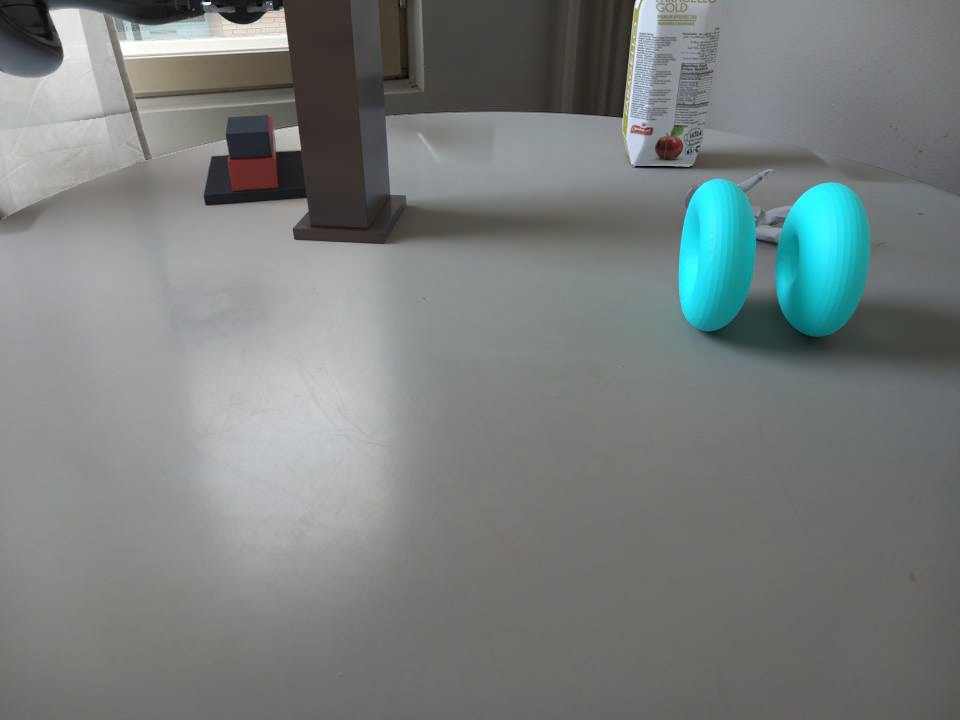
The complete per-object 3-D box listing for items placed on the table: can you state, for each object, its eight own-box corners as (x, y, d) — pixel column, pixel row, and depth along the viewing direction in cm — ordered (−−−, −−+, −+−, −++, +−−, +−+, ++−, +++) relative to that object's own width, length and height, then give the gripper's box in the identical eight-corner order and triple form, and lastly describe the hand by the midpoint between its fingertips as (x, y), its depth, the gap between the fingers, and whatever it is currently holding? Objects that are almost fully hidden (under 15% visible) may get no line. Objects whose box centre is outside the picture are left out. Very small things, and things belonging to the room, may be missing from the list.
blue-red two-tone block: (237, 144, 88) (229, 96, 85) (275, 142, 89) (268, 94, 86) (232, 191, 73) (222, 135, 70) (278, 188, 74) (270, 132, 71)
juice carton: (702, 170, 83) (732, -21, 73) (624, 169, 83) (644, -22, 73) (688, 151, 89) (715, -26, 79) (616, 150, 89) (634, -27, 80)
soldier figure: (805, 278, 60) (672, 213, 63) (788, 294, 65) (665, 233, 67) (849, 198, 61) (716, 137, 63) (829, 220, 66) (705, 162, 68)
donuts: (849, 366, 47) (895, 214, 42) (688, 357, 48) (713, 208, 43) (806, 296, 55) (840, 164, 50) (670, 290, 56) (689, 159, 51)
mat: (213, 164, 84) (211, 156, 84) (302, 158, 86) (301, 150, 86) (205, 205, 72) (203, 195, 72) (309, 197, 75) (308, 187, 74)
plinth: (327, 201, 73) (285, -185, 57) (406, 205, 73) (386, -186, 57) (293, 239, 65) (233, -203, 49) (383, 243, 64) (352, -204, 48)
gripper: (176, -43, 93) (162, -36, 80) (291, -44, 96) (297, -38, 83) (188, 22, 97) (176, 39, 84) (299, 19, 100) (305, 35, 87)
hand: (236, 1), depth 83 cm, fingers open, 8 cm apart
